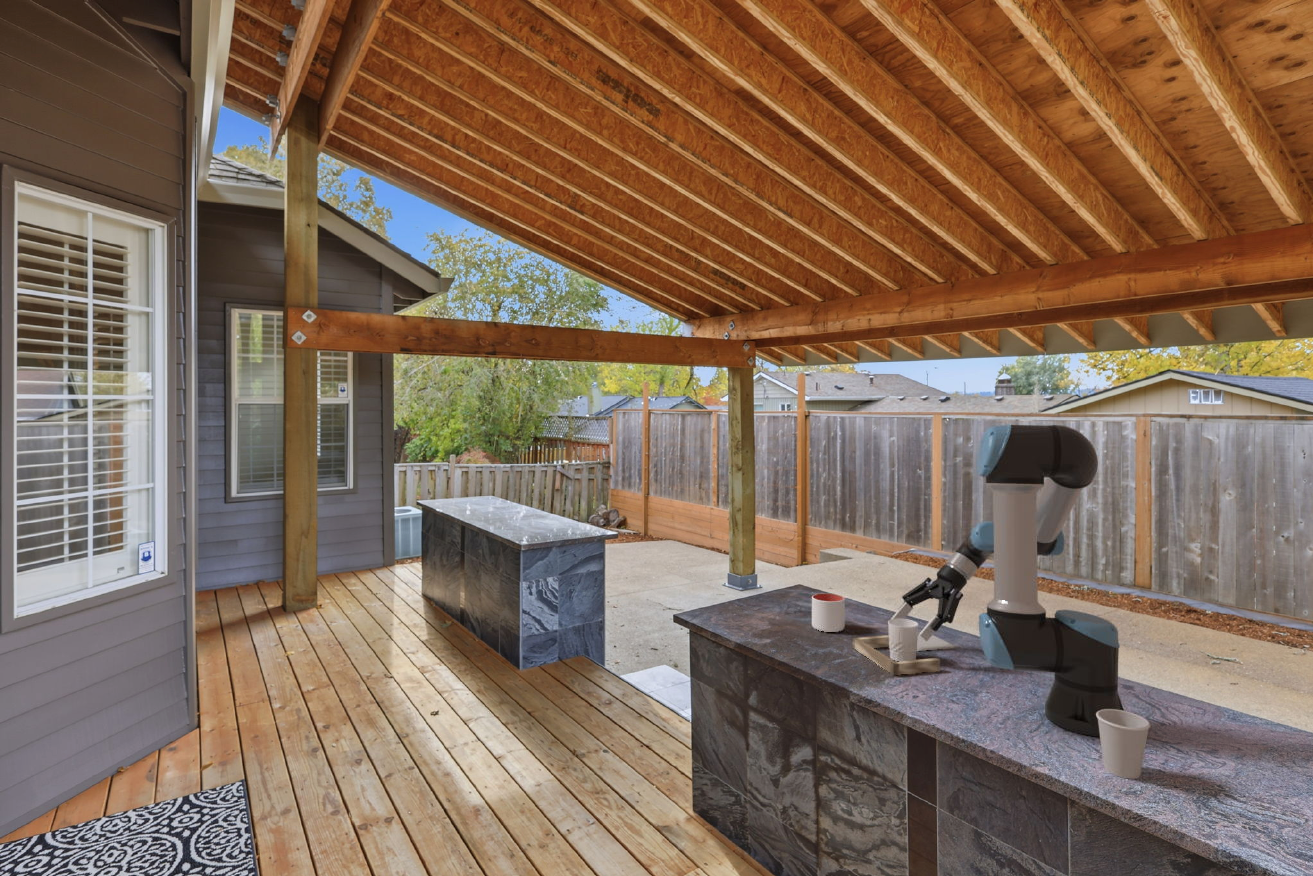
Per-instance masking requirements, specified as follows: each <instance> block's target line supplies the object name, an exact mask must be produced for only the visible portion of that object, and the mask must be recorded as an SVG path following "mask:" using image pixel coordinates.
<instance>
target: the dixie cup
mask: <svg viewBox="0 0 1313 876" xmlns="http://www.w3.org/2000/svg"><path fill="white" fill-rule="evenodd" d="M1096 716H1097V718H1098V724H1099V732H1100V737H1099V738H1100V739H1099V740H1100V746H1101V755H1102V762H1103V768H1104V770H1105V771H1107V772H1108V773H1110V774H1111V775H1113V776H1115V777H1119V778H1123V779H1133V780H1134V779H1135V780H1136V779H1139V778H1140V777H1141V773H1142V768H1143V762H1144V756H1145V751H1146V747H1147V746H1146V743H1147V740H1148V739H1147V738H1148V733H1149V729H1150V728H1151V723H1150V722H1149V720H1147V719H1145V717H1143V716H1141V715H1139V714H1135V713H1133V712H1130V711H1126V710H1124V711H1122V710H1116V709H1103V710H1100V711H1098V712H1097V713H1096Z"/></svg>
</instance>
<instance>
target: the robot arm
mask: <svg viewBox="0 0 1313 876" xmlns="http://www.w3.org/2000/svg"><path fill="white" fill-rule="evenodd" d="M976 459H977V461H976V465H977V473H978V476H980V477H982V478H985V485H986V486H987V487H988V488H989V489H990V490H991V492H992V493H993V496H992V499H993V503H992V504H993V521H991V520H988V521H987V520H986V521H981V522H980V523H978V524H977V525H975V526H974V527H973V528H972V530H971V532H970V533H969V534H968V535H967V536H966V538H965V539H964V541H962V543H961V544H960V545H959V546H958V547H957V549H956V550H955V551H954V552H953V553H952V554H951V556H950V557H949V558H948V559H947V560H946V561H945V564H943V565H942V566H941V567H940V569H939V570H938V571H937V573H936V579H935V580H933V579H931V577H927V578H925V580H924V581H923V582H921V583H920V584H918V585H917V586H916V587H913V588H912V589H911V590H909V591H908V592H907V593H905V594H904V595H902V597H901V598H902V599H903V603H902V604H901V606H900V607H899V608H898V610H897V611H896V612H895V613H894V615H893V616H892V617H891V618H890V620H891V619H906V618H907V616H908V615H909V614H910V613H911V611H912V610H913V609H914V606H916V605H919V604H921V603H922V602H923V603H924V602H925V601H927V600H929V599H930V600H933V599H935V600H938V604H937V605H938V607H937V613H936V614H935V615H933V617H932V618H931V619H930V620H929V621H928V622H927V624H926V625H925V626H924V627H923V629H922V630H921V631H920V632H918V635H920V636H921V637H922V638H923V639H924V640H925V641H928V640H929V638H930V637H931V636H932V635H934V633H936V632H937V631H938V630H939V629H940V628H941V627H942V626H943V624H945V623H948V624H952V623H953V621H954V618H955V615H956V612H957V610H958V607H959V603H960V601H961V600H962V598H963V597H964V594H963V592H961V591H962V590H963V588H964V587H965V586H966V585H967V584H968V581H970V580H971V578H973V576H974V575H975V574H976V573H977V571H978V570H979V569H980V568H981V566H982V565H984V564H985V562H986V561H987V560H988V559H989V557H990V556H991V555H992V554H993V585H994V587H993V588H994V589H993V592H994V593H993V594H994V595H993V599H991V601H989V602H988V603H987V604H986V612H983V613H980V614H979V616H978V631H979V638H980V643H981V646H982V647H981V648H982V650H983V654H984V656H985V659H986V660H987V662H988V663H989V664H990V665H991V666H992V667H994V668H1000V669H1008V670H1010V671H1014V670H1017V671H1028V672H1029V671H1030V672H1043V673H1053V674H1054V681H1053V684H1052V686H1051V688H1050V692H1049V694H1048V697H1047V700H1046V701H1045V703H1044V715H1045V717H1046V719H1048V720H1049V722H1051V723H1053V724H1054V725H1055V726H1058V727H1059V728H1062V729H1065V730H1067V731H1071V732H1072V733H1076V734H1081V735H1086V736H1090V737H1099V738H1100V732H1099V724H1098V718H1097V716H1096V713H1097V712H1098V711H1100V710H1103V709H1116V710H1122V711H1125V710H1124V707H1123V703H1122V702H1121V698H1120V694H1119V691H1118V690H1119V682H1118V681H1119V651H1120V650H1119V648H1121V645H1120V644H1119V641H1120V640H1119V631H1118V628H1117V626H1116V625H1115V624H1113V623H1112V622H1111V621H1110V620H1107V619H1106V618H1103V617H1100V616H1098V615H1097V616H1096V615H1094V614H1091V613H1087V612H1082V611H1078V610H1073V609H1058V610H1056V611H1055V613H1054V614H1053V615H1054V617H1047V616H1046V615H1047V611H1046V609H1045V608H1044V607H1043V606H1042V605H1041V604H1040V602H1039V597H1038V595H1039V594H1038V587H1039V586H1038V556H1043V557H1048V556H1059V555H1061V554H1063V552H1064V549H1065V547H1064V546H1065V540H1066V539H1065V534H1064V532H1063V530H1062V529H1063V527H1064V525H1065V523H1066V522H1067V519H1068V518H1069V515H1070V514H1071V512H1072V510H1073V508H1074V506H1075V504H1076V502H1077V500H1078V498H1079V497H1080V494H1081V492H1082V491H1083V489H1085V488H1087V487H1088V486H1090V485H1091V484H1092V482H1093V481H1094V479H1095V477H1096V475H1097V472H1098V466H1099V461H1098V459H1099V458H1098V455H1097V451H1096V449H1095V447H1094V446H1093V444H1092V442H1091V441H1090V440H1089V439H1088V437H1086V436H1085V435H1084V434H1082V433H1081V432H1080V431H1078V430H1076V429H1074V428H1072V427H1069V426H1065V425H1061V424H1060V425H1059V424H1051V425H1049V424H1048V425H1046V424H1044V425H1040V424H1038V425H1037V424H1036V425H1035V424H1032V425H1031V424H1005V425H1004V424H1003V425H993V426H989V427H988V428H986V429H985V430H984V432H983V434H982V436H981V439H980V441H979V446H978V452H977V458H976ZM1045 478H1046V479H1045ZM1039 491H1040V493H1039V495H1038V497H1037V493H1038V492H1039Z"/></svg>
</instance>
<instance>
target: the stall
mask: <svg viewBox="0 0 1313 876" xmlns="http://www.w3.org/2000/svg"><path fill="white" fill-rule="evenodd" d="M851 640H852V641H851V648H852V647H853V648H854V649H856V650H857V651H858V652H859V653H861V654H863V655H864V656H866V657H867V658H869V659H870V660H872V661H873V662H875V663H876V664H877V665H876V664H875V663H874V664H875V665H876V666H878V665H879V666H880V668H881V667H882V668H883V669H882V668H881V669H882V670H884V669H885V670H887V671H888V672H890V673H891V674H893V675H898V676H902V675H901V674H908V675H915V674H916V673H918V674H923V673H922V672H928V673H936V671H938V672H940V670H941V659H939V658H938V657H933V658H932V657H931V658H923V659H920V658H919V659H916V660H910V661H899V662H897V661H894V660H892V659H891V658H890V656H889V657H888V655H885V654H883V653H882V652H880V651H879V650H878V648H877V647H888V648H889V634H888V635H887V634H886V635H876V636H874V635H873V636H865V637H862V636H861V637H855V638H854V637H853V638H851ZM874 648H877V649H874ZM858 652H857V653H858ZM859 653H858V654H859ZM861 654H860V655H861ZM864 656H863V657H864ZM866 657H865V658H866ZM867 658H866V659H867ZM869 659H868V660H869ZM870 660H869V661H870ZM872 661H871V662H872ZM873 662H872V663H873ZM879 666H878V667H879ZM885 670H884V671H885ZM887 671H886V672H887ZM888 672H887V673H888ZM890 673H889V674H890ZM891 674H890V675H891ZM893 675H892V676H893ZM916 675H917V674H916Z"/></svg>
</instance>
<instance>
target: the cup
mask: <svg viewBox="0 0 1313 876" xmlns="http://www.w3.org/2000/svg"><path fill="white" fill-rule="evenodd" d="M845 601H846V598H845V597H844V596H842V595H839V594H837V593H836V594H835V593H825V592H824V593H816V594H813V595H812V596H811V626H812V627H813V629H814V630H816V629H817V630H816V631H818V630H819V631H818V632H821V631H824V632H823V633H826V632H836V633H839V631H840V632H841V631H844V629H845V624H846V622H845V621H846V620H845V619H846V616H845V614H846V613H845V612H846V608H845V607H846V605H845V604H846V602H845Z"/></svg>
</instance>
